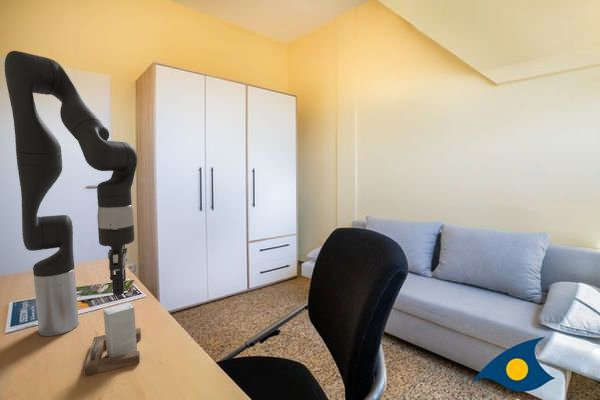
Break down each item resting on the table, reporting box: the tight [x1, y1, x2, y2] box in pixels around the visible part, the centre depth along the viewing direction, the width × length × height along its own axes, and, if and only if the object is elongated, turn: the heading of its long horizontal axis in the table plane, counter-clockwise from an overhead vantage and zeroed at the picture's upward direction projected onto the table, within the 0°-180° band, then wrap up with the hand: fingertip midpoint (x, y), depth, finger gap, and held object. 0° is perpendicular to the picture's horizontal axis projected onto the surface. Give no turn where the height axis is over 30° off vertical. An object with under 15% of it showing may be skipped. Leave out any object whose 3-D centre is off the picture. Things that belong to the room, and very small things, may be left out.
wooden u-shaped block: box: [83, 327, 142, 377], centre depth 78 cm, size 14×11×3 cm
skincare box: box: [102, 302, 138, 358], centre depth 78 cm, size 6×4×12 cm
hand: (119, 287), depth 77 cm, fingers open, 8 cm apart
